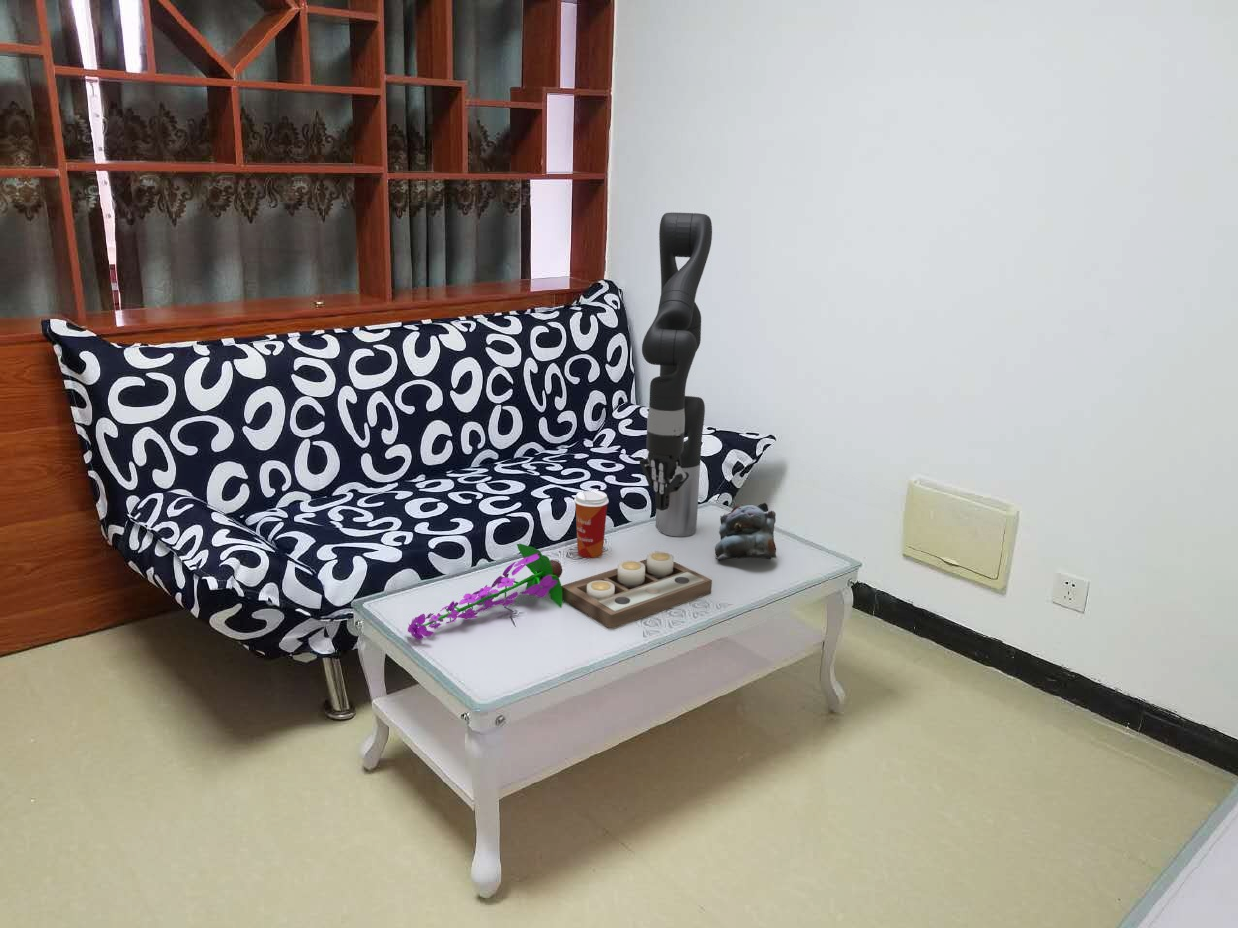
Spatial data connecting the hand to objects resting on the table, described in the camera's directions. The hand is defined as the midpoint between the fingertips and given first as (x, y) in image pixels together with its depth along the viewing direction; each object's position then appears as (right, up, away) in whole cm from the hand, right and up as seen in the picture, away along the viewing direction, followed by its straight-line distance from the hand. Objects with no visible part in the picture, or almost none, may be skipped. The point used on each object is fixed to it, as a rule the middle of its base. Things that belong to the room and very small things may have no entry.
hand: (661, 508), depth 200 cm
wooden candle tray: (-5, -18, -1) cm, 19 cm away
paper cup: (-15, -11, +19) cm, 27 cm away
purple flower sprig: (-33, -21, -12) cm, 41 cm away
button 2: (0, -13, +4) cm, 14 cm away
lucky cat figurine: (+19, -12, +20) cm, 30 cm away
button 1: (-13, -18, -5) cm, 23 cm away
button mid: (-6, -14, -1) cm, 16 cm away
